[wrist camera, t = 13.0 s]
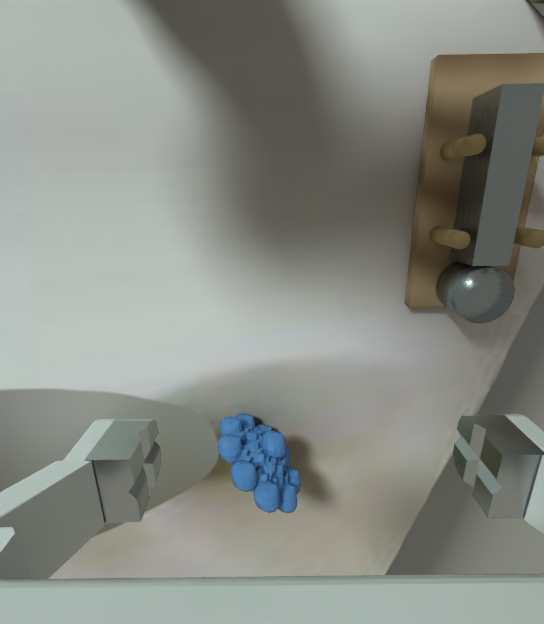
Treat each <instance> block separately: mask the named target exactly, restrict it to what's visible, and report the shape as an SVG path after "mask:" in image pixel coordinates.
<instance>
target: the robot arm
mask: <svg viewBox="0 0 544 624" xmlns="http://www.w3.org/2000/svg"><path fill="white" fill-rule="evenodd" d="M457 430H458V432H459V433H460V435H461V437H460V438H459V439H458V440H457V441H456V442H455V443H454V450H453V458H454V464H455V467H456V469H457V472H458V474H459V475H460V477H461V478H462V480H463V481H464V482H466V483H467V484H469V485H470V486H472V487H473V488H474V489H473V496H474V498H475V499H476V501H477V502H478V504H479V505H480V507H481V508H482V510H483V511H484V513H485V514H486V516H487V517H488V518H525V519H524V520H525V521H526V522H527V523H529V524H530V525H531V526H533V527H534V528H535V529H537V530H538V531H539V532H541V533H542V534H543V535H544V432H543V431H542V430H541V429H540V428H539V427H538V426H537V425H535V424H534V423H533V422H532V421H531V420H529V419H528V418H527V417H526V416H524V415H521V414H503V415H485V416H484V415H483V416H461V418H460V420H459V421H458V426H457ZM157 435H158V428H157V423H156V421H155V420H154V419H99V420H96V421H94V422H93V424H92V425H91V426H90V427H89V428H88V430H87V431H86V432H85V434H84V435H83V436H82V437H81V439H80V440H79V441H78V442H77V444H76V445H75V446H74V447H73V449H72V450H71V451H70V452H69V454H68V455H67V456H66V458H65V459H64V460H63V461H56V462H54V463H52V464H51V465H49V466H47V467H45V468H43V469H42V470H40V471H38V472H37V473H34V474H33V475H31V476H29V477H27V478H25V479H24V480H22V481H20V482H18V483H16V484H15V485H13V486H11V487H9V488H7V489H6V490H4V491H2V492H0V624H544V574H467V575H465V574H462V575H362V576H276V577H187V578H96V579H48V578H49V577H51V576H52V575H53V574H54V573H55V572H56V571H57V570H58V569H59V568H60V567H61V566H62V565H63V564H64V563H65V562H66V561H67V560H69V559H70V558H71V557H72V556H73V555H74V554H75V553H76V552H77V551H78V550H79V549H80V548H81V547H82V546H83V545H84V544H85V543H87V542H88V541H89V540H90V539H91V538H92V537H93V536H94V535H95V534H96V533H97V532H98V531H99V530H100V529H101V528H102V527H103V526H105V523H117V522H141V519H142V517H143V515H144V512H145V510H146V507H147V505H148V502H149V500H150V496H149V489H150V488H152V487H153V486H154V485H155V484H156V482H157V479H158V477H159V473H160V467H161V449H160V446H159V445H158V444H157V443H156V442H155V439H156V437H157Z"/></svg>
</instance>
